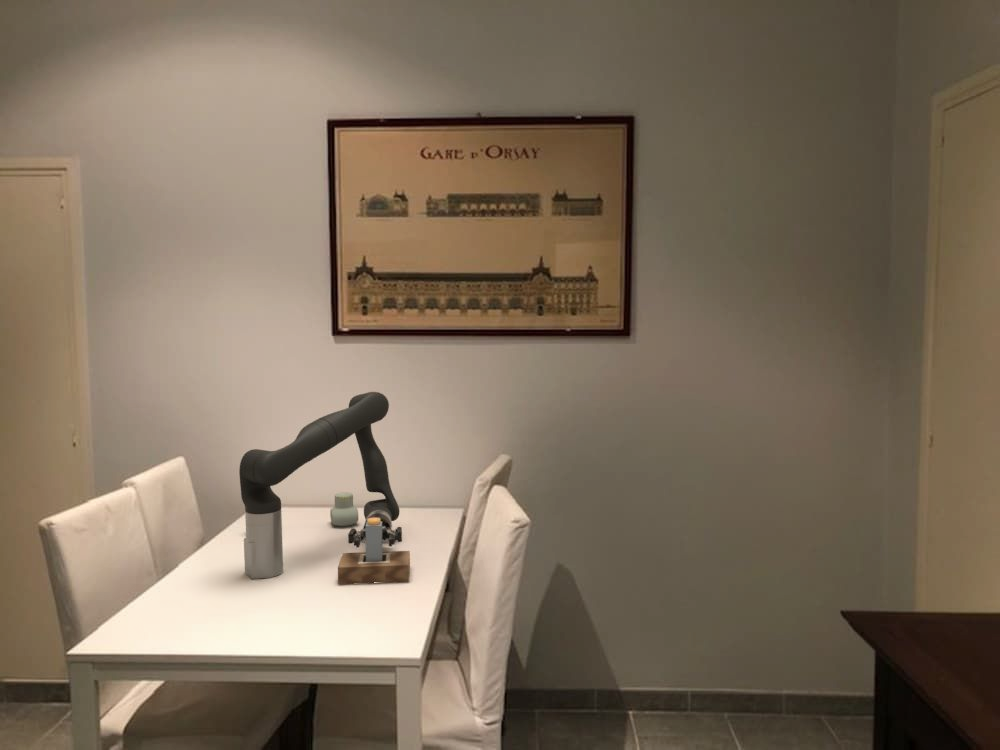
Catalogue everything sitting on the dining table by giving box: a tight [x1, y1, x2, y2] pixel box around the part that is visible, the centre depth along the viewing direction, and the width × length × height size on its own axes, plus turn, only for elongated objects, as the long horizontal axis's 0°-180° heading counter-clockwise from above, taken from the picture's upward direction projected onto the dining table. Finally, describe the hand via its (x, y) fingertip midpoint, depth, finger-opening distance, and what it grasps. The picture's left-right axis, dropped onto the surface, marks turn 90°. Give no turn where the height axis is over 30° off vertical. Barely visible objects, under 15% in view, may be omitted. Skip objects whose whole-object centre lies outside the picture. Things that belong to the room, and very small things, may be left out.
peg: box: [365, 518, 384, 562], centre depth 211 cm, size 4×4×15 cm
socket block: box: [337, 550, 411, 585], centre depth 211 cm, size 18×12×5 cm, turn 95°
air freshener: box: [329, 491, 359, 527], centre depth 261 cm, size 11×8×10 cm
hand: (373, 543), depth 209 cm, fingers open, 8 cm apart
